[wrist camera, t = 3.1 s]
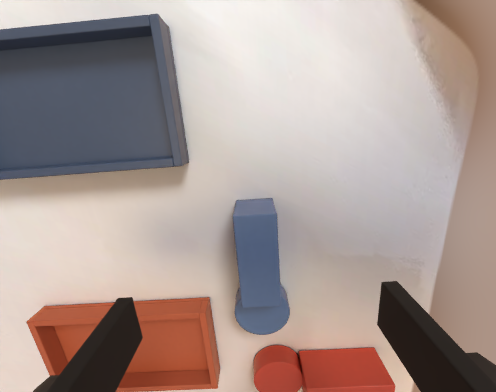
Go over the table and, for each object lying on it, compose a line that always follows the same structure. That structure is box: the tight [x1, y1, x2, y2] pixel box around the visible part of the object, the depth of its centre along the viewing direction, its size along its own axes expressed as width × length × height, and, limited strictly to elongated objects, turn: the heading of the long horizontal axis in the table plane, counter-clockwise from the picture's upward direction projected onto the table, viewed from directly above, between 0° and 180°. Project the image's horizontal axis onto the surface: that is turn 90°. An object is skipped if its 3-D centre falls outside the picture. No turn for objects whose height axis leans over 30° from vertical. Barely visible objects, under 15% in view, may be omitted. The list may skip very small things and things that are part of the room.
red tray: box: [27, 297, 220, 392], centre depth 22 cm, size 16×9×2 cm, turn 94°
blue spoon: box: [233, 198, 290, 335], centre depth 19 cm, size 12×5×4 cm, turn 4°
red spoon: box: [254, 345, 395, 392], centre depth 22 cm, size 12×5×4 cm, turn 94°
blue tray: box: [0, 14, 189, 180], centre depth 16 cm, size 16×9×2 cm, turn 94°
